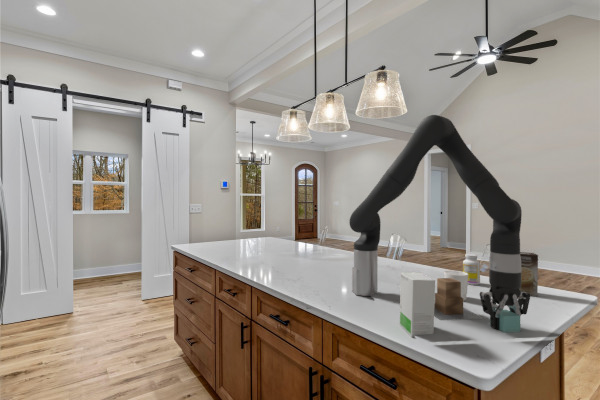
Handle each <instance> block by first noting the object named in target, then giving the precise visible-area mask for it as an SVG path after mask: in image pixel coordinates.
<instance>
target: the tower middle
mask: <svg viewBox="0 0 600 400" xmlns="http://www.w3.org/2000/svg"><path fill="white" fill-rule="evenodd" d="M436 281H437V282H436V285H437V287H436V293H437V294H439V295H441V296H443V297H445V298H461V282H460V281H457V280H455V279H452V278H445V277H442V278H441V277H440V278H439V277H438V278H436Z"/></svg>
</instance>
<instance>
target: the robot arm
mask: <svg viewBox="0 0 600 400" xmlns="http://www.w3.org/2000/svg"><path fill="white" fill-rule="evenodd" d="M434 146H436V147H437V148H439V149H440V150H441V151H442V152H443V153H444V154H445V155H446V156H447V157H448V158H449V159H450V161H451V163H452V164H453V166H454V168H455V170H456V172H457V175H458V176H459V177H460V179H461V180H462V182H463V183H464V185H465V186H466V187H467V188H468V189H469V190H470V191H471V193H472V194H473V195H474V196H475V197H476V199H477V200H478V202H479V204H480V205H481V207H482V208H483V210H484V211H485V212H486V214H487V216H489V218H491V220H492V232H491V234H490V240H489V241H490V242H489V243H490V244H489V247H490V248H489V259H488V276H489V277H488V282H489V284H490V288H489V291H487V292H486V291H485V292H483V291H480V292H479V297H480V302H481V307H482V311H483V313H485V314H487V315H489V325H490V327H491V328H493V329H495V330H497V331H501V330H500V318H499V316H500V313H501V310H504V309H505V306H507V308H508V309H509V310H508V311H510V312H513V313H515V314H517V315H519V316H520V317H521V316H522V315H526V314H527V313H528V309H529V305H530V301H531V295H530V294H529V293H526V292H523V291H520V289H519V288H520V287H521V257H520V252H521V238H520V237H521V236H520V233H521V225H522V215H523V214H522V212H523V211H522V207H521V205H520V203H519V202H518V201H516V200H515V199H512V198H511V197H510V196H509V195H507V193H506V192H505V191H504V190H503V189H502V187H500V183H499V182H498V180H497V179H496V178H495V177H494V175H493V174H492V173H491V172H490V171H489V170H488V168H487V167H486V166H485V164H483V163H482V162H481V161H480V160H479V159H478V157H476V156H475V154H474V153H473V152H472V151H471V149H470V148H469V147H468V145H467V144H466V143H465V141H464V139H463V138H462V137H461V135H460V133H459V131H458V129H457V128H456V126H455V125H454V123H453V122H452V120H451V119H449V118H448V117H444V116H442V115H441V116H440V115H438V114H431V115H428V116H426V117H424V118H423V119H422V120H421V121H420V123H418V126H417V127H416V129H415V130H414V132H413V134H412V136H411V137H410V138H409V140H408V141H407V143H406V145H405V146H404V148H403V149H402V150H401V152H400V153H399V155H397V157H396V158H395V160H394V161H393V162H392V163H391V165H390V166H389V167H388V169H387V170H386V171H385V173H384V174H383V175H382V176H381V178H380V180H379V181H378V182H377V184H376V185H375V186H374V187H373V189H372V190H371V191H370V193H369V194H368V195H367V196H366V197H365V199H364V200H363V201H362V202H361V203H360V204H359V205H358V206H357V207H356V208H355V210H354V211H353V212H352V213H351V215H350V218H349V226H350V229H351V230H352V231H354V232H355V233H359V234H360V236H359V238H358V239H356V240H355V241H354V243H353V267H352V269H351V270H352V275H351V276H352V277H351V280H352V281H351V282H352V283H351V284H352V286H351V289H352V290H351V291H352V292H353V293H354V295H356V296H364V297H370V296H371V295H378V266H379V265H378V261H379V260H378V253H379V252H378V248H379V244H380V241H381V217H380V214H379V212H380V211H381V209H383V208H384V207H386V206H387V205H389V204H390V203H392V202H393V201H395V200H396V199H398V198H399V197H400V196H401V195H402V194H403V193H404V192H405V191H406V189H407V188H408V187H409V186H410V184H412V181H414V179H415V176H416V174H417V171H418V168H419V166H420V163H421V162H422V160H423V159H424V158H425V157H426V155H427V154H428V153H429V151H431V150H432V148H433V147H434ZM495 310H496V311H495Z"/></svg>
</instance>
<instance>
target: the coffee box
mask: <svg viewBox="0 0 600 400" xmlns="http://www.w3.org/2000/svg"><path fill="white" fill-rule="evenodd" d="M520 257H521V287H520V288H519V289H520V291H523V292H526V293H529V294H530V295H531V296H533V297H538V294H539V293H538V283H539V282H538V280H539V275H538V274H539V272H538V271H539V266H538V265H539V254H536V253H534V252H524V251H520ZM531 296H530V297H531Z"/></svg>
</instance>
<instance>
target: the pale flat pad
mask: <svg viewBox="0 0 600 400" xmlns="http://www.w3.org/2000/svg"><path fill="white" fill-rule="evenodd" d="M434 318H437V319H438V320H440V321H450V320H451V321H452V320H453V321H455V320H481V319H485V318H484V317H482V316H480V315H478V314H477V313H475V312H473V311H471V310H469V309H467V308H465V307H464V306H463V314H450V315H445V314H444V313H442V312H440V311H439V310H437V309H436V308H435V303H434Z"/></svg>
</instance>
